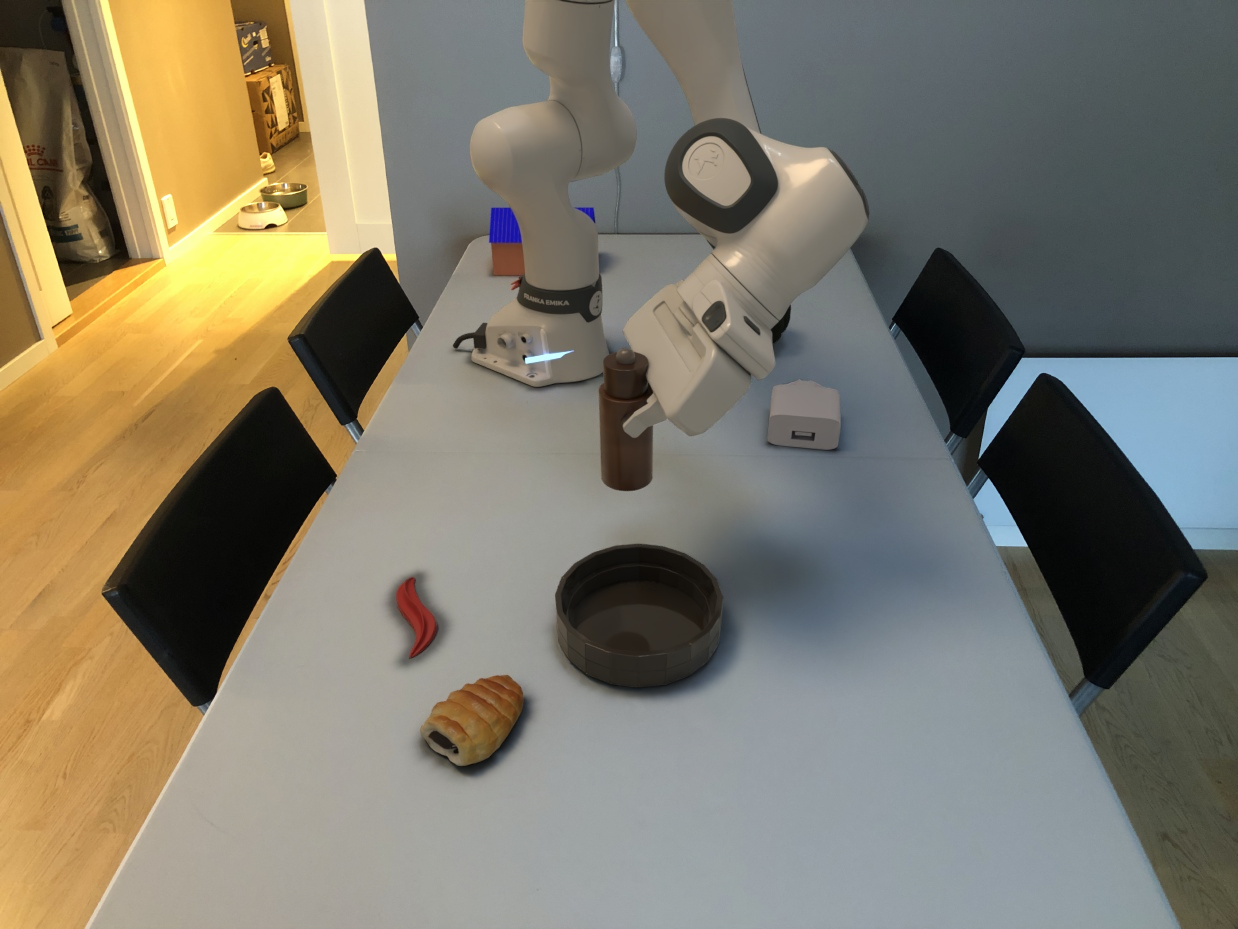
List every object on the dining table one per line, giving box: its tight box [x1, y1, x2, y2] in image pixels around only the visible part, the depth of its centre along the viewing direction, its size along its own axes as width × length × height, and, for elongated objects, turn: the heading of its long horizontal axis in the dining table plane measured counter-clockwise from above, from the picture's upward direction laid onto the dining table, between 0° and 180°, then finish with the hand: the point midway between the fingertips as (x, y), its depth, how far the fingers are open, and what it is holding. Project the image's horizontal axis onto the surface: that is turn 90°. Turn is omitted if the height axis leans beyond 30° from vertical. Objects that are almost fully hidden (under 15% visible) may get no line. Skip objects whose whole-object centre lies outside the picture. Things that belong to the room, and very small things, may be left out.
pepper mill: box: [598, 347, 654, 492], centre depth 84 cm, size 5×5×14 cm
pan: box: [554, 543, 724, 689], centre depth 85 cm, size 16×16×4 cm
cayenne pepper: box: [395, 576, 438, 659], centre depth 88 cm, size 12×5×2 cm, turn 5°
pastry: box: [419, 674, 525, 767], centre depth 76 cm, size 9×7×4 cm
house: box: [488, 206, 597, 276], centre depth 172 cm, size 12×20×12 cm, turn 89°
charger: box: [766, 378, 842, 451], centre depth 120 cm, size 5×9×15 cm
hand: (619, 414), depth 83 cm, fingers closed on pepper mill, 5 cm apart
